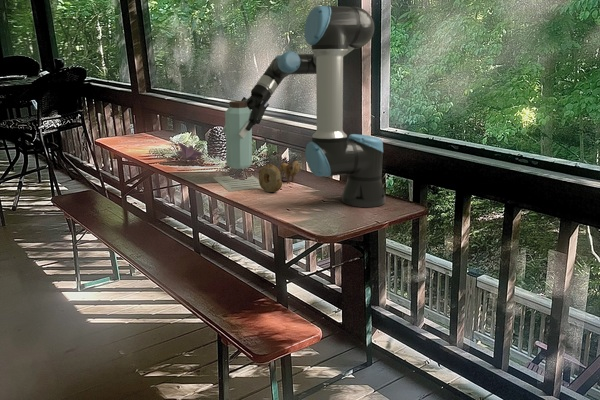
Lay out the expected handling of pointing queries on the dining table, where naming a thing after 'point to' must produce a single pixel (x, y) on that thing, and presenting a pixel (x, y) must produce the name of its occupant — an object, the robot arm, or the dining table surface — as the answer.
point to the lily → (188, 152)
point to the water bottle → (238, 136)
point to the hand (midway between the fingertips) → (232, 134)
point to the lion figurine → (290, 170)
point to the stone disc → (270, 178)
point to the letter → (238, 183)
